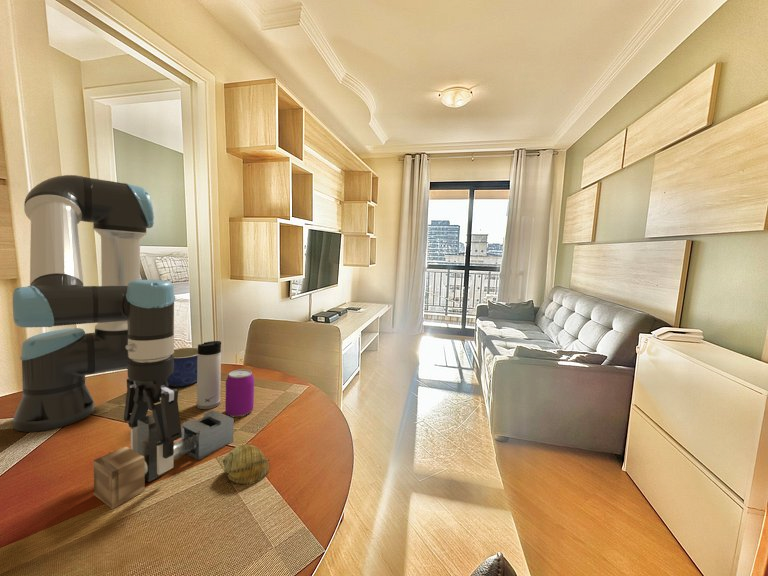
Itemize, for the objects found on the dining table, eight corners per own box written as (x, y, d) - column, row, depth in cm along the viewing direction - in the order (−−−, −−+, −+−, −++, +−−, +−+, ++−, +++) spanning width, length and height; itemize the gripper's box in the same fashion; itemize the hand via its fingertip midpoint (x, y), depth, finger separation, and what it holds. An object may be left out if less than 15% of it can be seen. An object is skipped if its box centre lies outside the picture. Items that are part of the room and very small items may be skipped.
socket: (126, 478, 65) (126, 446, 64) (144, 490, 62) (144, 456, 61) (94, 495, 60) (93, 460, 59) (112, 508, 57) (111, 472, 56)
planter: (199, 373, 121) (199, 345, 121) (206, 384, 112) (206, 354, 111) (160, 379, 114) (160, 350, 113) (163, 392, 104) (163, 360, 103)
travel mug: (211, 411, 94) (212, 345, 92) (192, 407, 95) (192, 342, 93) (225, 402, 100) (226, 340, 98) (207, 399, 101) (208, 337, 99)
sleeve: (216, 433, 82) (216, 408, 82) (233, 441, 80) (233, 415, 79) (181, 451, 74) (181, 423, 74) (198, 460, 72) (199, 431, 71)
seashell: (264, 484, 71) (265, 445, 75) (275, 479, 67) (275, 438, 71) (216, 491, 66) (220, 449, 70) (225, 486, 61) (228, 442, 66)
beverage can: (227, 407, 97) (228, 369, 96) (254, 404, 99) (255, 367, 98) (223, 419, 90) (223, 378, 88) (252, 416, 92) (253, 376, 91)
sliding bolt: (188, 449, 75) (189, 400, 74) (199, 454, 73) (200, 404, 72) (108, 489, 61) (108, 430, 60) (119, 497, 59) (119, 436, 58)
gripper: (101, 351, 65) (103, 455, 67) (163, 373, 56) (163, 493, 58) (142, 343, 72) (143, 438, 74) (203, 362, 62) (202, 470, 64)
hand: (151, 462), depth 66 cm, fingers open, 9 cm apart
